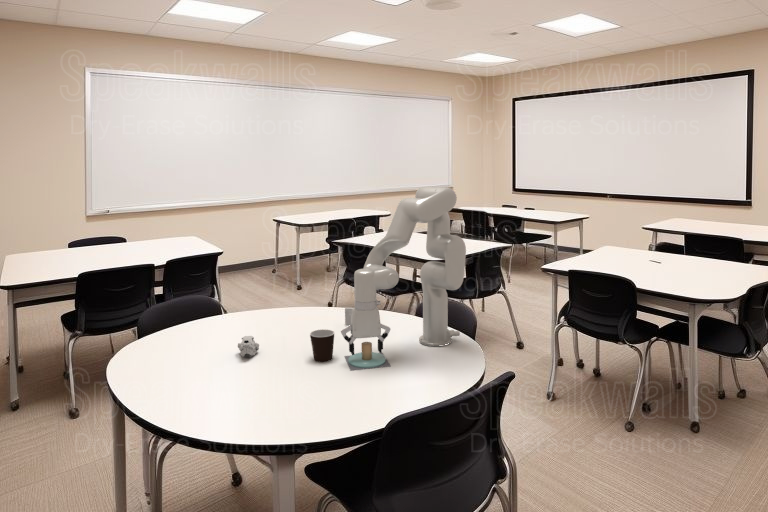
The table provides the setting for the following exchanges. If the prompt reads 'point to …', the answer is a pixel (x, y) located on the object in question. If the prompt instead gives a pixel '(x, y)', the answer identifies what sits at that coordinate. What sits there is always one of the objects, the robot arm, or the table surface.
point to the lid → (366, 357)
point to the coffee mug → (322, 344)
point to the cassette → (348, 316)
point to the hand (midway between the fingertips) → (366, 352)
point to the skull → (248, 346)
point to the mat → (366, 368)
